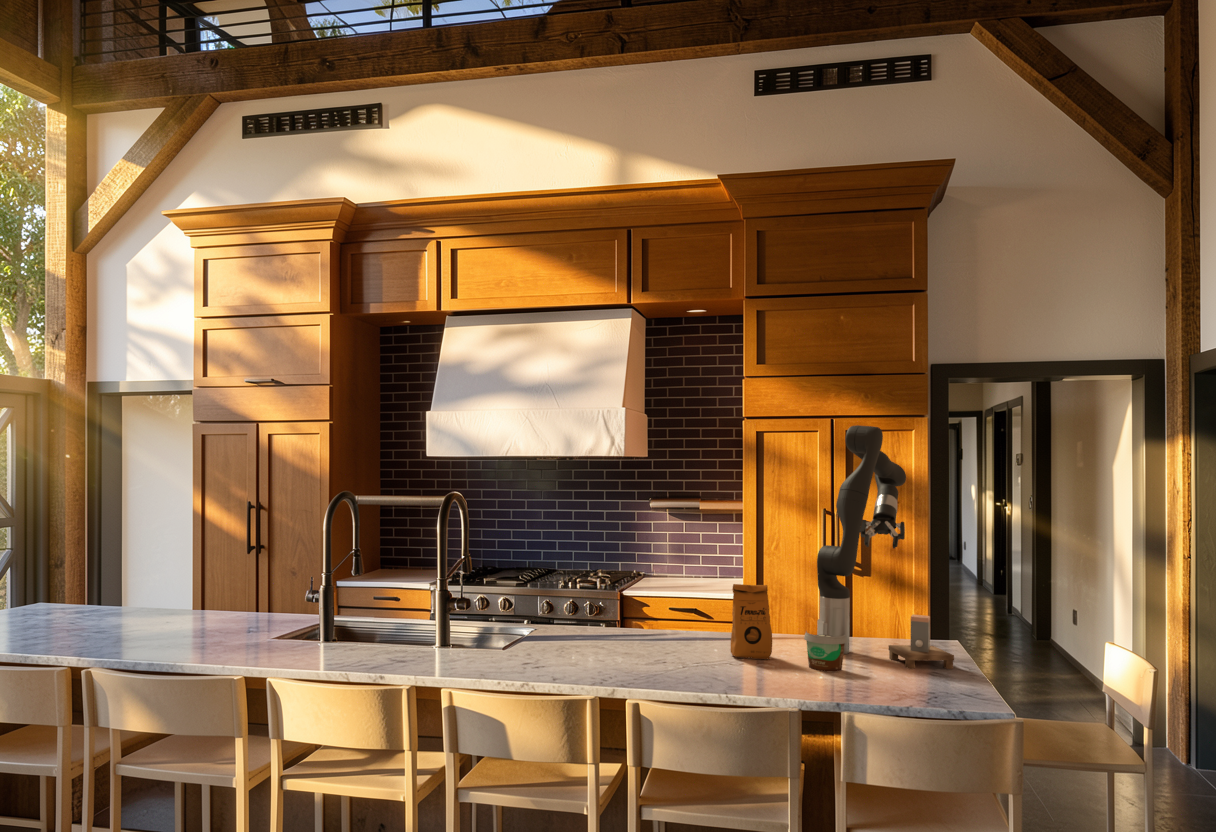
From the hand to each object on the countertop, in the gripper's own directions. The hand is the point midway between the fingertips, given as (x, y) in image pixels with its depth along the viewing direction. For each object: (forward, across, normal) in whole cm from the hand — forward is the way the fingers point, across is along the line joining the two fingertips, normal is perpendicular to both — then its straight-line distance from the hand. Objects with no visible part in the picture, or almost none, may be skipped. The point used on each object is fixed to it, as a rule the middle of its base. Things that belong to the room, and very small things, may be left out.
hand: (880, 546), depth 287 cm
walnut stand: (+39, +15, +7) cm, 42 cm away
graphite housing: (+36, +15, +4) cm, 39 cm away
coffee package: (+52, -32, -6) cm, 62 cm away
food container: (+56, -9, -10) cm, 58 cm away
